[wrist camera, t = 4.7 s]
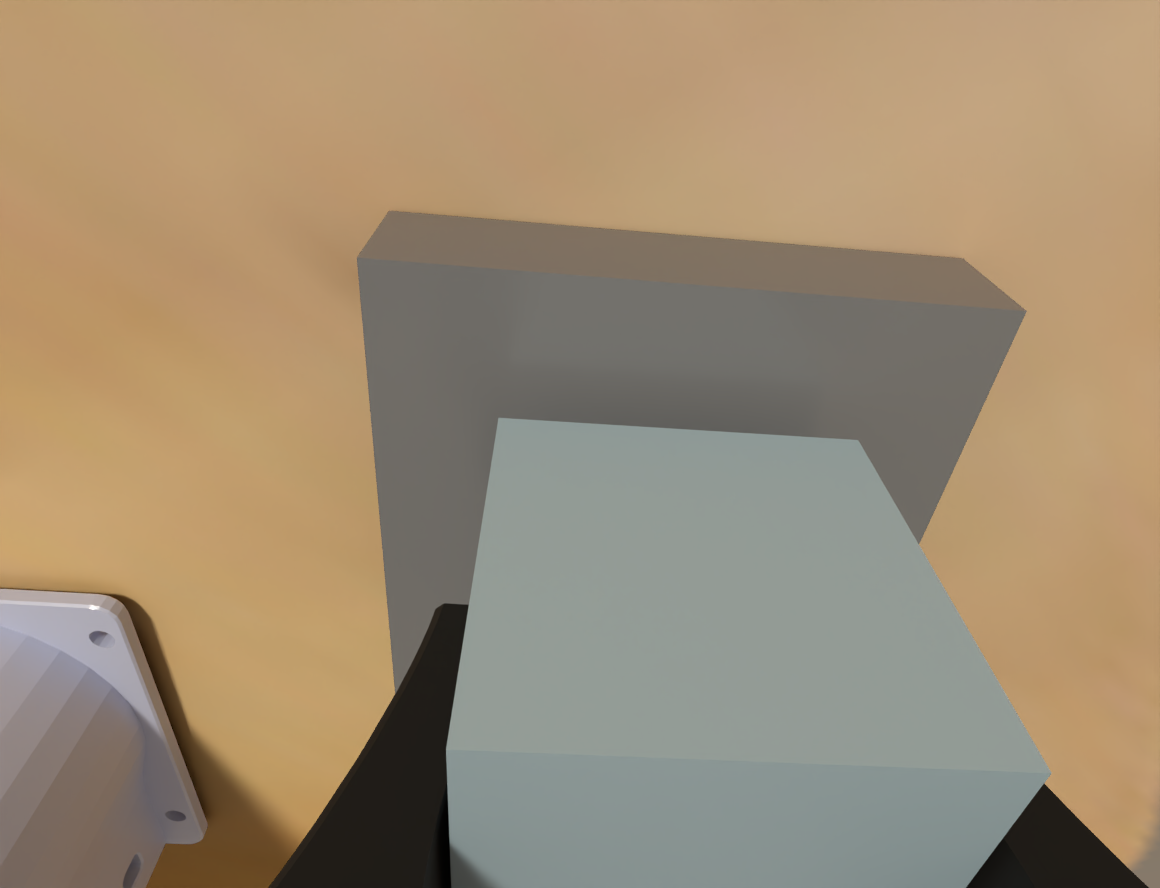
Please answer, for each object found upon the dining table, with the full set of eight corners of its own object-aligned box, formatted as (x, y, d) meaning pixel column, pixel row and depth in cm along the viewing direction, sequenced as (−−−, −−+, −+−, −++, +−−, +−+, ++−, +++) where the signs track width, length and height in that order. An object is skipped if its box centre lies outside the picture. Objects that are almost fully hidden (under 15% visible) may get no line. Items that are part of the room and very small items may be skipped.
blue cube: (776, 674, 13) (871, 1013, 9) (494, 661, 13) (455, 1003, 9) (858, 440, 10) (1051, 773, 6) (498, 417, 10) (445, 749, 6)
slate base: (813, 640, 17) (839, 717, 15) (414, 618, 16) (395, 695, 15) (963, 258, 12) (1026, 310, 10) (389, 210, 11) (356, 257, 10)
